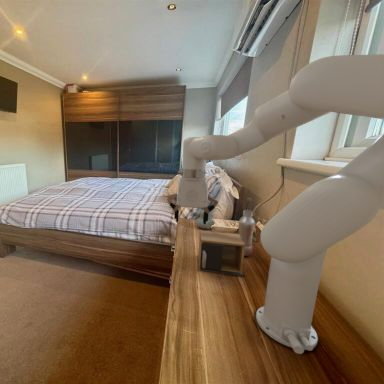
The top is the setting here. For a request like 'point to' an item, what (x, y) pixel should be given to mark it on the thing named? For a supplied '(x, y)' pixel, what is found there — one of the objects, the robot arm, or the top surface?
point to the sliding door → (211, 256)
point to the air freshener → (208, 223)
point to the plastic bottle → (247, 230)
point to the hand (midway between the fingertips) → (190, 221)
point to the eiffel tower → (248, 209)
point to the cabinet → (225, 251)
